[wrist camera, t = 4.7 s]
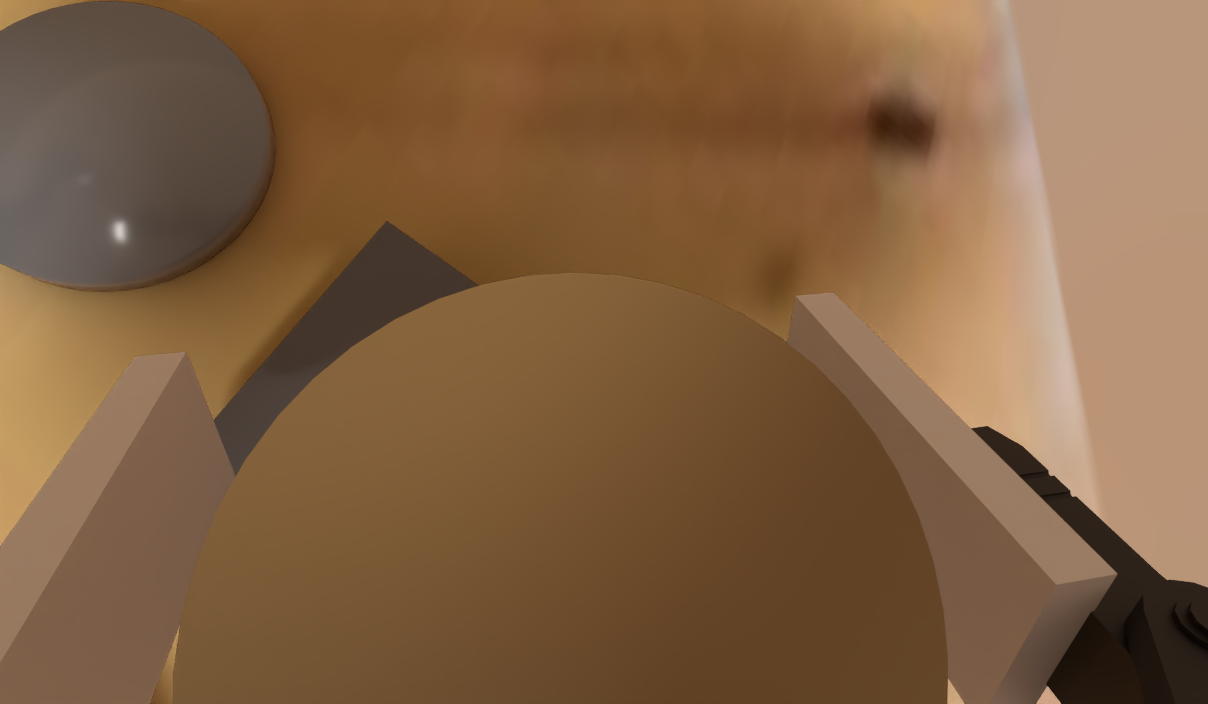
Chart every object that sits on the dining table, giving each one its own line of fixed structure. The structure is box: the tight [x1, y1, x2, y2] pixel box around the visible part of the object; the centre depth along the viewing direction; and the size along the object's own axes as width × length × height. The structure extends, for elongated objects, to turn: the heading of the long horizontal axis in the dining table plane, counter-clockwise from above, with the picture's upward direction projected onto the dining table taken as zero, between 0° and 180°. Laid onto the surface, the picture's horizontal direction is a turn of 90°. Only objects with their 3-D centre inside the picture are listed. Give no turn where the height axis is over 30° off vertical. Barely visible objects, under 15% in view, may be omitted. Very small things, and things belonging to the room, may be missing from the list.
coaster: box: [0, 1, 275, 292], centre depth 18 cm, size 8×8×1 cm
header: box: [214, 221, 479, 476], centre depth 16 cm, size 14×8×3 cm, turn 56°
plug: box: [173, 272, 948, 704], centre depth 11 cm, size 5×5×14 cm
